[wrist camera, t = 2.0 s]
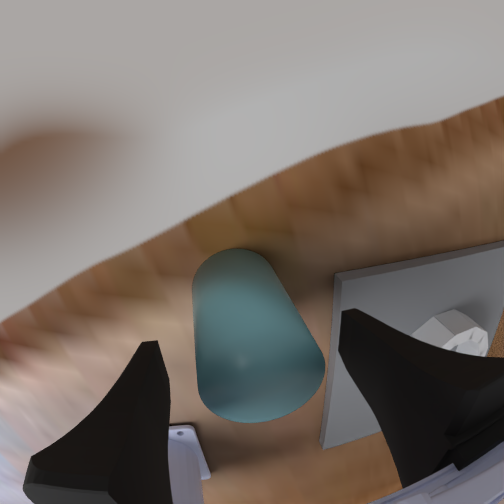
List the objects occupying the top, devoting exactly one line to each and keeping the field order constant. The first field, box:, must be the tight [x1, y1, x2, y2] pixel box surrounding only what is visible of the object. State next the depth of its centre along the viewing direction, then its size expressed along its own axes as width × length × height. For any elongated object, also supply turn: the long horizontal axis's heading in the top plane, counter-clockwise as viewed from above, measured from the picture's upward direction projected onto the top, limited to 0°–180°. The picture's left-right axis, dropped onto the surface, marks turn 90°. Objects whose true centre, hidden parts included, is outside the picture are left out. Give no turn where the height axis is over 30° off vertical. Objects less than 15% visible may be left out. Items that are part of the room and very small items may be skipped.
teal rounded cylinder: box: [192, 249, 325, 423], centre depth 13 cm, size 4×4×7 cm
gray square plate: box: [319, 240, 504, 450], centre depth 20 cm, size 17×16×4 cm
